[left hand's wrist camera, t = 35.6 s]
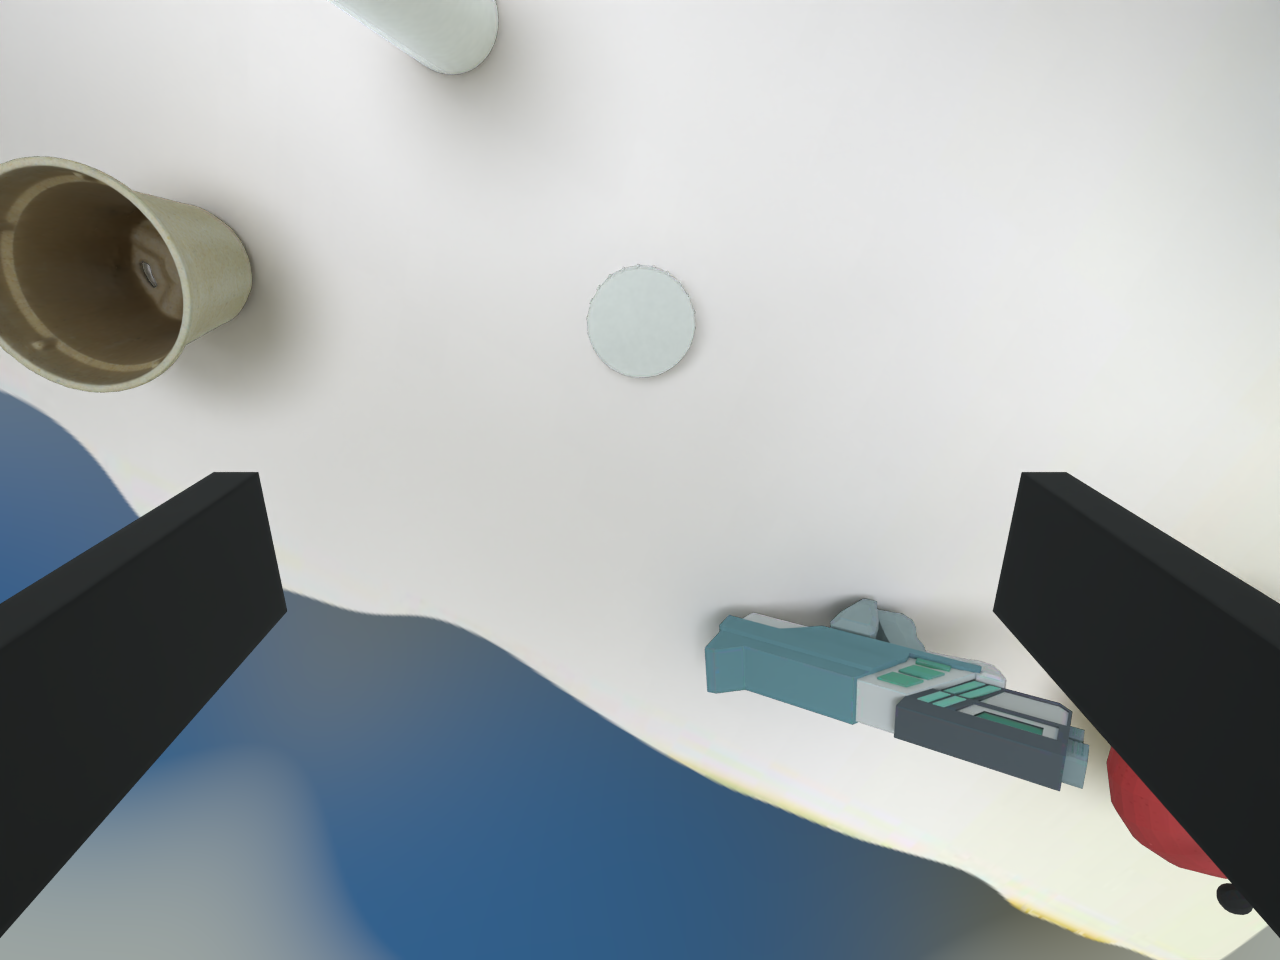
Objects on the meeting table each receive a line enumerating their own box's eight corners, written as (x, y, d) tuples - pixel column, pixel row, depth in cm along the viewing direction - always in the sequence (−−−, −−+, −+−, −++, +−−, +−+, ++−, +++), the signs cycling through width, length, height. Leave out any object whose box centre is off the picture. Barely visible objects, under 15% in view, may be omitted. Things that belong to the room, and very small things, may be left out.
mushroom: (1209, 519, 42) (1490, 673, 28) (1331, 673, 46) (1630, 874, 32) (991, 675, 46) (1144, 877, 32) (1121, 804, 50) (1306, 1033, 36)
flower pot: (192, 127, 35) (56, 102, 27) (323, 291, 38) (236, 313, 29) (64, 239, 37) (-98, 247, 29) (198, 387, 39) (85, 432, 31)
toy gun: (1091, 694, 39) (1077, 822, 32) (772, 613, 50) (704, 694, 42) (1101, 639, 38) (1089, 758, 30) (771, 567, 48) (701, 642, 41)
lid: (653, 241, 37) (653, 243, 35) (713, 330, 38) (717, 337, 36) (568, 306, 38) (563, 311, 36) (629, 389, 40) (629, 399, 38)
